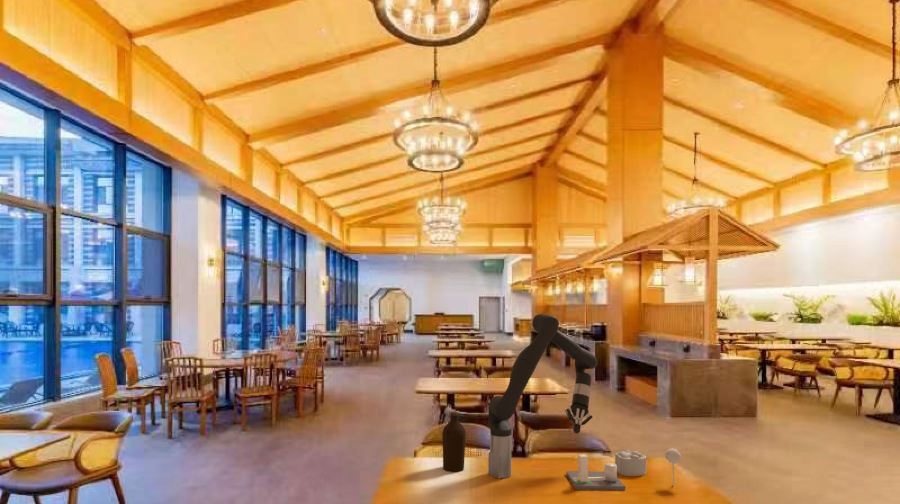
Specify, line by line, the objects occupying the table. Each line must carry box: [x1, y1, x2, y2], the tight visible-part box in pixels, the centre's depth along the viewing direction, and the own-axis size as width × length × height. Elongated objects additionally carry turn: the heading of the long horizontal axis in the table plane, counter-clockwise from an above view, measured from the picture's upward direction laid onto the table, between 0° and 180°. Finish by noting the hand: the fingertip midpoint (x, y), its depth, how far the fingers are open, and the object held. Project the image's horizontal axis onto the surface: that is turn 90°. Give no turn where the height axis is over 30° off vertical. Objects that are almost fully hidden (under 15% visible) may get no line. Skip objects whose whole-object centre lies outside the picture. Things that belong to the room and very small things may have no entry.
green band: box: [575, 480, 593, 483], centre depth 221 cm, size 7×4×1 cm, turn 96°
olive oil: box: [441, 410, 467, 473], centre depth 240 cm, size 11×11×25 cm
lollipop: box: [664, 447, 682, 486], centre depth 223 cm, size 6×6×15 cm
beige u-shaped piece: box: [573, 453, 618, 482], centre depth 222 cm, size 18×5×10 cm, turn 98°
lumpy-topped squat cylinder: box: [614, 449, 647, 477], centre depth 240 cm, size 10×13×9 cm
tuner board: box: [565, 470, 626, 491], centre depth 225 cm, size 20×18×2 cm
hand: (576, 433), depth 241 cm, fingers closed
